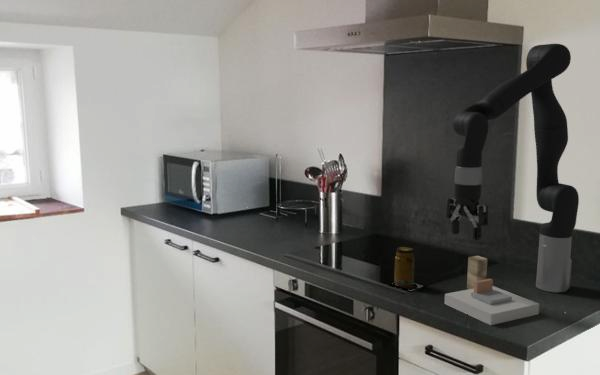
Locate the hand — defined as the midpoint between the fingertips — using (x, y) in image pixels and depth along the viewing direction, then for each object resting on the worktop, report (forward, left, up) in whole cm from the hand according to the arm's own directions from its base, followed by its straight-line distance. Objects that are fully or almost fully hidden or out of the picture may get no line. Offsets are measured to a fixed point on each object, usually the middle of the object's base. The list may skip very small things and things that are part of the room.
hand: (465, 236), depth 175 cm
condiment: (+8, -17, -19) cm, 27 cm away
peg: (-10, -5, -19) cm, 22 cm away
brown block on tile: (-1, +10, -16) cm, 19 cm away
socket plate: (-1, +10, -19) cm, 21 cm away
